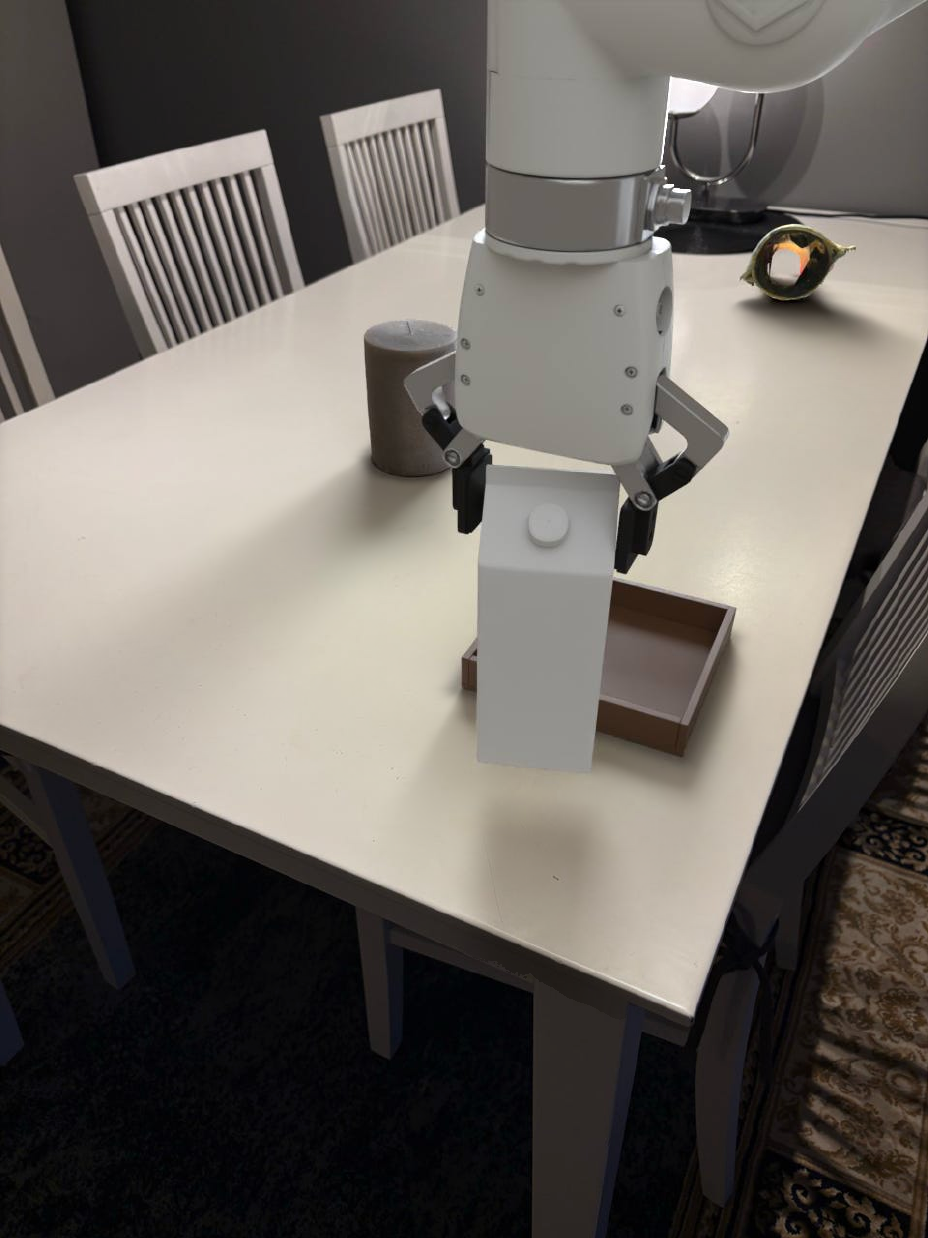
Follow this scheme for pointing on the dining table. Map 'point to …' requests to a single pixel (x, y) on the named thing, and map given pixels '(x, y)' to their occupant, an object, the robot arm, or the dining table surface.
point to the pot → (812, 253)
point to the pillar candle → (403, 394)
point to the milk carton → (543, 614)
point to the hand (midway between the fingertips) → (549, 540)
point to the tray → (652, 663)
